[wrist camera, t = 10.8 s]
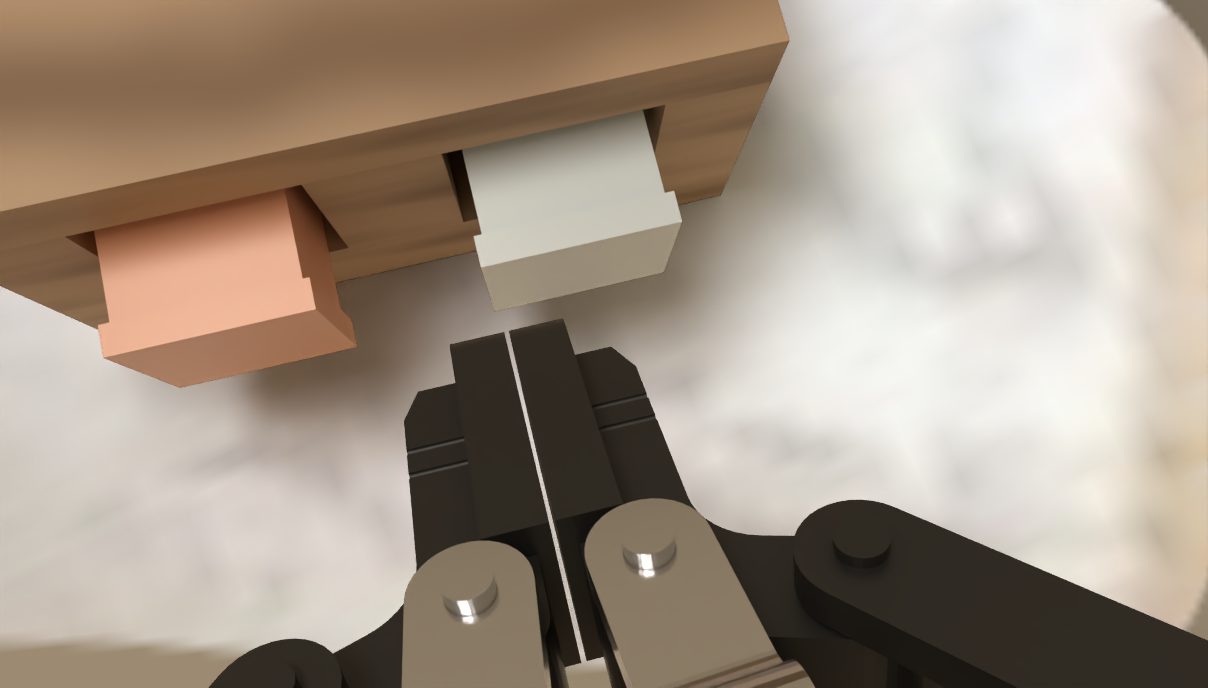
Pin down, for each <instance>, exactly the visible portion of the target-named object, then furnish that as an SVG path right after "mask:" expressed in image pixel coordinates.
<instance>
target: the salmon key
mask: <svg viewBox="0 0 1208 688" xmlns="http://www.w3.org/2000/svg"><path fill="white" fill-rule="evenodd" d="M94 233H95V239H96V245H97V251H98V257H99V263H100V269H101V275H102V280H103V286H104V292H105V298H106V304H107V310H108V316H109V323H105V324H100V325H98V329H99V335H100V341H101V347H102V353H103V358H105V359H108V360H110V361H113V362H115V363H118V364H120V365H123V366H126V367H128V368H131V369H133V370H136V371H138V372H141V373H143V374H146V375H149V376H151V377H154V378H156V379H159V380H161V381H164V382H166V383H169V384H172V385H174V386H177V387H179V388H182V387H186V386H190V385H195V384H199V383H203V382H208V381H212V380H216V379H221V378H225V377H229V376H234V375H238V374H242V373H246V372H251V371H255V370H259V369H264V368H268V367H272V366H277V365H281V364H285V363H289V362H294V361H298V360H302V359H307V358H311V357H315V356H320V355H324V354H328V353H333V352H337V351H341V350H345V349H350V348H354V347H357V344H356V339H355V334H354V329H353V325H352V320H351V319H350V318H349V317H348V316H347V315H346V314H345V313H344V312H343V311H342V310H341V308H340V303H339V298H338V293H337V288H336V284H335V279H334V274H333V269H332V264H331V259H330V255H329V250H328V245H327V240H326V235H325V231H324V226H323V221H322V216H321V211H320V209H319V208H318V206H317V205H316V204H315V202H314V201H313V200H312V198H311V197H310V196H309V194H308V193H307V192H306V190H305V189H304V188H303V186H302V185H298V186H293V187H289V188H284V189H280V190H275V191H270V192H266V193H261V194H257V195H252V196H248V197H243V198H239V199H234V200H229V201H225V202H220V203H216V204H211V205H207V206H202V207H198V208H193V209H189V210H184V211H179V212H175V213H170V214H166V215H161V216H157V217H152V218H148V219H143V220H138V221H134V222H129V223H125V224H120V225H116V226H111V227H107V228H102V229H98V230H94Z"/></svg>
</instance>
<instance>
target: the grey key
mask: <svg viewBox="0 0 1208 688" xmlns="http://www.w3.org/2000/svg"><path fill="white" fill-rule="evenodd" d="M462 152H463V156H464V161H465V165H466V169H467V173H468V178H469V182H470V186H471V190H472V195H473V199H474V203H475V208H476V212H477V216H478V220H479V225H480V229H481V233H482V234H481V235H476V236H474V240H475V245H476V249H477V253H478V258H479V262H480V266H481V270H482V273H483V276H484V279H485V282H486V285H487V288H488V292H489V295H490V298H491V301H492V304H493V307H494V310H495V311H499V310H504V309H508V308H512V307H517V306H521V305H525V304H530V303H534V302H538V301H543V300H547V299H551V298H556V297H560V296H564V295H568V294H573V293H577V292H581V291H586V290H590V289H594V288H599V287H603V286H607V285H612V284H616V283H620V282H624V281H629V280H633V279H637V278H642V277H646V276H650V275H655V274H659V273H663V272H664V271H665V268H666V265H667V262H668V260H669V257H670V254H671V251H672V249H673V246H674V243H675V240H676V237H677V235H678V232H679V229H680V226H681V224H682V219H681V215H680V211H679V207H678V204H677V200H676V196H675V193H674V191H671V192H667V193H665V192H664V188H663V184H662V181H661V177H660V173H659V169H658V166H657V162H656V158H655V154H654V151H653V147H652V143H651V139H650V136H649V132H648V128H647V124H646V121H645V117H644V113H643V110H639V111H634V112H630V113H625V114H621V115H616V116H612V117H607V118H603V119H598V120H594V121H589V122H584V123H580V124H575V125H571V126H566V127H562V128H557V129H553V130H548V131H543V132H539V133H534V134H530V135H525V136H521V137H516V138H512V139H507V140H503V141H498V142H493V143H489V144H484V145H480V146H475V147H471V148H466V149H462Z"/></svg>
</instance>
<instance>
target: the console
mask: <svg viewBox="0 0 1208 688" xmlns="http://www.w3.org/2000/svg"><path fill="white" fill-rule="evenodd" d="M788 43H789V37H788V33H787V30H786V26H785V23H784V20H783V16H782V13H781V10H780V6H779V3H778V0H0V286H2V287H4V288H6V289H8V290H10V291H13V292H15V293H17V294H19V295H22V296H24V297H26V298H28V299H31V300H33V301H35V302H37V303H40V304H42V305H44V306H46V307H49V308H51V309H53V310H55V311H57V312H60V313H62V314H64V315H66V316H69V317H71V318H73V319H75V320H78V321H80V322H82V323H84V324H87V325H89V326H91V327H93V328H96V329H98V325H100V324H105V323H109V316H108V310H107V304H106V298H105V292H104V286H103V280H102V275H101V269H100V263H99V257H98V251H97V245H96V239H95V233H94V230H98V229H102V228H107V227H111V226H116V225H120V224H125V223H129V222H134V221H138V220H143V219H148V218H152V217H157V216H161V215H166V214H170V213H175V212H179V211H184V210H189V209H193V208H198V207H202V206H207V205H211V204H216V203H220V202H225V201H229V200H234V199H239V198H243V197H248V196H252V195H257V194H261V193H266V192H270V191H275V190H280V189H284V188H289V187H293V186H298V185H302V186H303V188H304V189H305V190H306V192H307V193H308V194H309V196H310V197H311V198H312V200H313V201H314V202H315V204H316V205H317V206H318V208H319V209H320V211H321V216H322V221H323V226H324V231H325V235H326V240H327V245H328V250H329V255H330V259H331V264H332V269H333V274H334V279H335V283H336V282H340V281H345V280H349V279H354V278H358V277H362V276H367V275H371V274H376V273H380V272H384V271H389V270H393V269H398V268H402V267H406V266H411V265H415V264H420V263H424V262H428V261H433V260H437V259H442V258H446V257H450V256H455V255H459V254H464V253H468V252H472V251H477V249H476V245H475V240H474V236H476V235H481V234H482V233H481V229H480V225H479V220H478V216H477V212H476V208H475V203H474V199H473V195H472V190H471V186H470V182H469V178H468V173H467V169H466V165H465V161H464V156H463V152H462V149H466V148H471V147H475V146H480V145H484V144H489V143H493V142H498V141H503V140H507V139H512V138H516V137H521V136H525V135H530V134H534V133H539V132H543V131H548V130H553V129H557V128H562V127H566V126H571V125H575V124H580V123H584V122H589V121H594V120H598V119H603V118H607V117H612V116H616V115H621V114H625V113H630V112H634V111H639V110H643V113H644V117H645V121H646V124H647V128H648V132H649V136H650V139H651V143H652V147H653V151H654V154H655V158H656V162H657V166H658V169H659V173H660V177H661V181H662V184H663V188H664V192H665V193H667V192H671V191H674V193H675V196H676V200H677V204H678V205H679V204H684V203H688V202H692V201H697V200H701V199H706V198H710V197H714V196H719V195H721V194H722V191H723V189H724V187H725V185H726V182H727V180H728V178H729V176H730V173H731V171H732V169H733V167H734V164H735V162H736V160H737V157H738V155H739V153H740V151H741V148H742V146H743V144H744V142H745V139H746V137H747V135H748V133H749V130H750V128H751V126H752V124H753V121H754V119H755V117H756V115H757V112H758V110H759V108H760V106H761V103H762V101H763V99H764V97H765V94H766V92H767V90H768V88H769V85H770V83H771V81H772V79H773V76H774V74H775V72H776V70H777V67H778V65H779V63H780V61H781V58H782V56H783V54H784V52H785V49H786V47H787V45H788ZM98 330H99V329H98Z"/></svg>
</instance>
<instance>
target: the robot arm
mask: <svg viewBox="0 0 1208 688" xmlns="http://www.w3.org/2000/svg"><path fill="white" fill-rule="evenodd" d="M509 333H510V338H511V342H512V347H513V351H514V356H515V360H516V364H517V369H518V373H519V378H520V382H521V386H522V391H523V395H524V400H525V404H526V408H527V413H528V417H529V422H530V426H531V430H532V435H533V439H534V443H535V448H536V452H537V456H538V460H539V465H540V469H541V473H542V477H543V481H544V485H545V489H546V494H547V498H548V502H549V506H550V510H551V514H552V519H553V523H554V527H555V531H556V535H557V539H558V544H559V548H560V552H561V556H562V560H563V564H564V568H565V573H566V577H567V581H568V585H569V589H570V593H571V598H572V602H573V606H574V610H575V614H576V618H577V622H578V627H579V631H580V635H581V639H582V643H583V647H584V652H585V656H586V660H587V661H589V660H593V659H596V658H600V657H604V659H605V663H606V667H607V671H608V675H609V679H610V683H611V686H612V688H1208V641H1207V640H1205V639H1203V638H1200V637H1198V636H1196V635H1193V634H1191V633H1189V632H1186V631H1184V630H1182V629H1179V628H1177V627H1175V626H1172V625H1170V624H1168V623H1165V622H1163V621H1161V620H1158V619H1156V618H1154V617H1151V616H1149V615H1146V614H1144V613H1142V612H1139V611H1137V610H1135V609H1132V608H1130V607H1128V606H1125V605H1123V604H1121V603H1118V602H1116V601H1114V600H1111V599H1109V598H1107V597H1104V596H1102V595H1099V594H1097V593H1095V592H1092V591H1090V590H1088V589H1085V588H1083V587H1081V586H1078V585H1076V584H1074V583H1071V582H1069V581H1067V580H1064V579H1062V578H1060V577H1057V576H1055V575H1052V574H1050V573H1048V572H1045V571H1043V570H1041V569H1038V568H1036V567H1034V566H1031V565H1029V564H1027V563H1024V562H1022V561H1020V560H1017V559H1015V558H1013V557H1010V556H1008V555H1005V554H1003V553H1001V552H998V551H996V550H994V549H991V548H989V547H987V546H984V545H982V544H980V543H977V542H975V541H973V540H970V539H968V538H966V537H963V536H961V535H959V534H956V533H954V532H951V531H949V530H947V529H944V528H942V527H940V526H937V525H935V524H933V523H930V522H928V521H926V520H923V519H921V518H919V517H916V516H914V515H912V514H909V513H907V512H904V511H902V510H900V509H897V508H895V507H892V506H890V505H887V504H884V503H880V502H875V501H868V500H847V501H840V502H836V503H832V504H829V505H826V506H824V507H822V508H820V509H818V510H816V511H815V512H813V513H812V514H810V515H809V516H808V517H807V518H806V519H805V520H804V521H803V522H802V523H801V525H800V526H799V528H798V529H797V531H796V534H795V536H760V535H747V534H742V533H736V532H733V531H730V530H726V529H724V528H721V527H719V526H717V525H715V524H713V523H712V522H710V521H708V520H707V519H705V518H704V517H703V516H702V515H701V514H700V513H699V512H697V510H696V509H695V508H694V507H693V505H692V504H691V502H690V500H689V498H688V496H687V494H686V491H685V489H684V486H683V484H682V481H681V479H680V476H679V474H678V471H677V469H676V466H675V464H674V461H673V459H672V456H671V454H670V451H669V449H668V446H667V444H666V441H665V438H664V436H663V433H662V431H661V428H660V426H659V423H658V421H657V420H656V418H655V413H654V411H653V408H652V406H651V403H650V401H649V398H647V394H646V391H645V388H644V386H643V383H642V381H641V378H640V376H639V373H638V371H637V368H636V366H635V365H634V364H632V363H631V362H630V361H628V360H627V359H626V358H625V357H623V356H622V355H621V354H620V353H618V352H617V351H616V350H615V349H613V348H612V347H607V348H603V349H599V350H594V351H590V352H586V353H581V354H577V355H575V354H574V351H573V348H572V344H571V341H570V338H569V335H568V332H567V329H566V326H565V323H564V320H563V319H558V320H554V321H550V322H545V323H541V324H537V325H532V326H528V327H524V328H519V329H515V330H511V331H509ZM450 351H451V357H452V364H453V370H454V376H455V383H454V384H449V385H445V386H441V387H436V388H432V389H428V390H424V391H419V392H418V393H417V395H416V397H415V399H414V401H413V403H412V405H411V408H410V410H409V412H408V414H407V416H406V418H405V420H404V426H405V437H406V449H407V453H408V455H407V460H408V471H409V476H410V479H409V483H410V494H411V506H412V517H413V528H414V540H415V551H416V563H417V571H416V573H415V574H414V576H413V577H412V579H411V581H410V583H409V584H408V587H407V590H406V593H405V598H404V604H403V605H402V606H401V607H400V609H399V610H398V611H397V612H396V613H395V614H394V615H393V616H392V617H391V618H390V619H389V620H388V621H387V622H386V623H384V624H383V625H382V626H380V627H379V628H378V629H376V630H375V631H373V632H371V633H370V634H368V635H366V636H365V637H363V638H361V639H359V640H357V641H355V642H354V643H352V644H350V645H348V646H346V647H344V648H343V649H341V650H339V651H337V652H335V653H333V654H332V653H331V652H330V651H329V650H328V649H327V648H325V647H324V646H322V645H320V644H318V643H316V642H313V641H309V640H305V639H284V640H279V641H274V642H270V643H267V644H265V645H262V646H259V647H257V648H255V649H253V650H251V651H249V652H247V653H246V654H244V655H243V656H241V657H239V658H238V659H237V660H235V661H234V662H233V663H232V664H230V665H229V666H228V667H227V668H226V669H225V670H224V671H223V672H222V673H221V674H220V675H219V676H218V677H217V679H216V680H215V681H214V682H213V683H212V685H210V687H209V688H569V685H568V681H567V676H566V671H565V667H567V666H571V665H575V664H579V663H581V660H580V655H579V651H578V647H577V642H576V638H575V634H574V629H573V625H572V621H571V616H570V612H569V608H568V603H567V599H566V594H565V590H564V586H563V581H562V577H561V573H560V568H559V564H558V560H557V555H556V551H555V547H554V542H553V538H552V534H551V529H550V525H549V521H548V516H547V512H546V508H545V504H544V499H543V495H542V491H541V487H540V482H539V478H538V474H537V470H536V465H535V461H534V457H533V453H532V449H531V444H530V440H529V436H528V432H527V427H526V423H525V419H524V415H523V410H522V406H521V402H520V398H519V393H518V389H517V385H516V381H515V376H514V372H513V368H512V364H511V359H510V355H509V351H508V347H507V342H506V338H505V334H504V332H503V333H498V334H494V335H490V336H485V337H481V338H477V339H472V340H468V341H464V342H459V343H455V344H450Z"/></svg>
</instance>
